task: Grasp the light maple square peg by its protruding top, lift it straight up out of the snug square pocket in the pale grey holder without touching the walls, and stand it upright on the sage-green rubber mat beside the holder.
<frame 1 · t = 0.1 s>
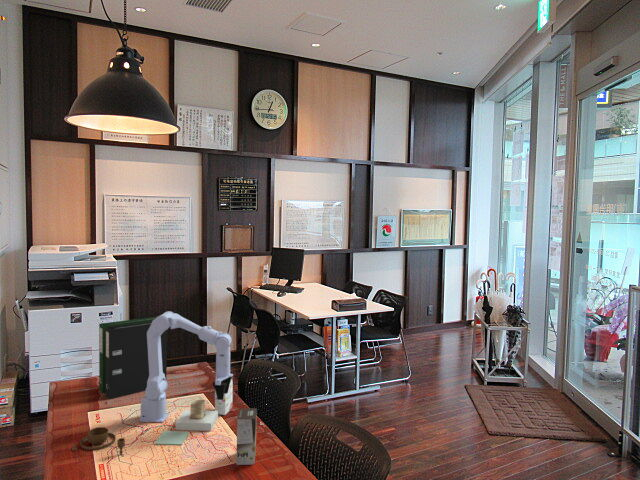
hand: (222, 396, 195), 10 cm above the table, tool pointing down, fingers open, 6 cm apart
binder: (133, 388, 228), on the table
maple peg: (197, 412, 192), in the pocket holder
rubber mat: (172, 438, 179), on the table
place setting: (99, 449, 171), on the table
coffee box: (246, 458, 166), on the table
ink cartridge box: (223, 411, 205), on the table, touching gripper
pocket holder: (197, 423, 192), on the table
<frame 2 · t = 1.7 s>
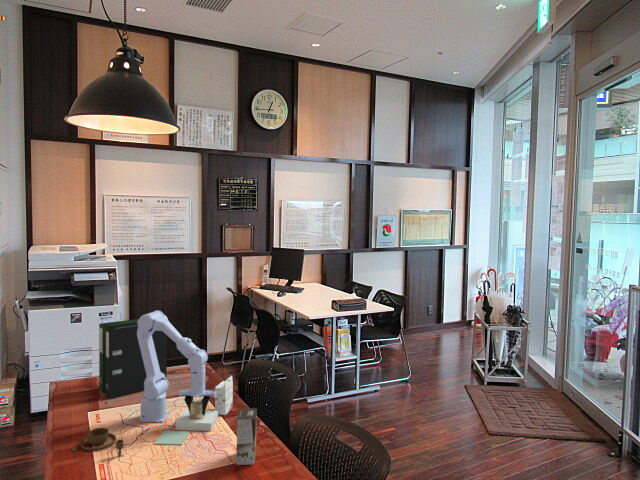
hand: (197, 413, 192), 4 cm above the table, tool pointing down, fingers closed on maple peg, 4 cm apart
maple peg: (197, 412, 192), in the pocket holder, touching gripper
ink cartridge box: (223, 411, 205), on the table
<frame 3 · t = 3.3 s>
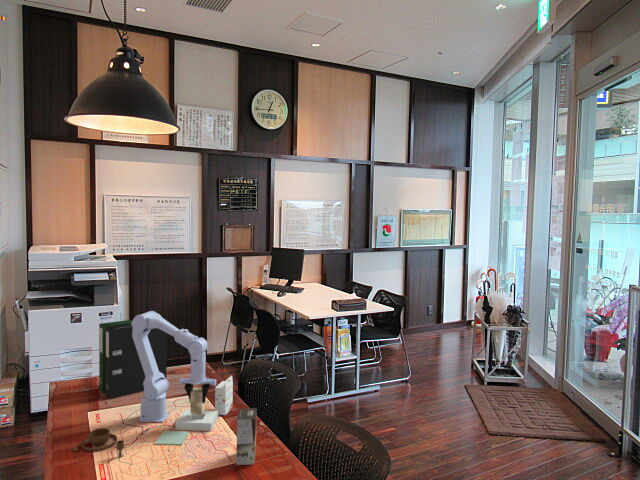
hand: (197, 402, 192), 9 cm above the table, tool pointing down, fingers closed on maple peg, 4 cm apart
maple peg: (197, 400, 192), point 9 cm above the table, touching gripper
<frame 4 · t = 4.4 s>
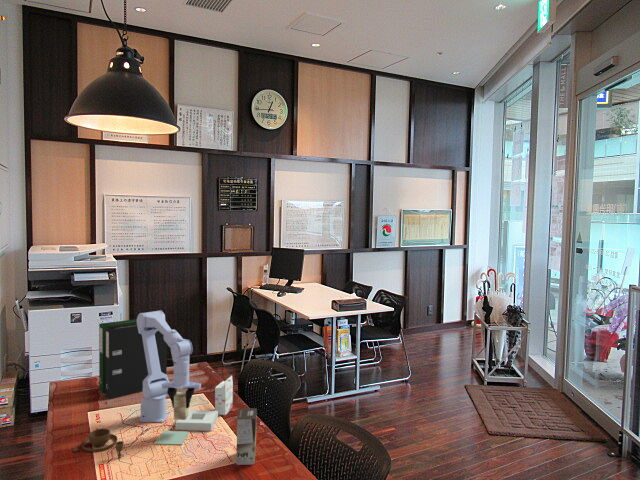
hand: (181, 407, 183), 10 cm above the table, tool pointing down, fingers closed on maple peg, 4 cm apart
maple peg: (181, 405, 183), point 11 cm above the table, touching gripper
when the fingers open (5 cm above the table, at t = 6.1 s): maple peg stays where it is, resting on rubber mat.
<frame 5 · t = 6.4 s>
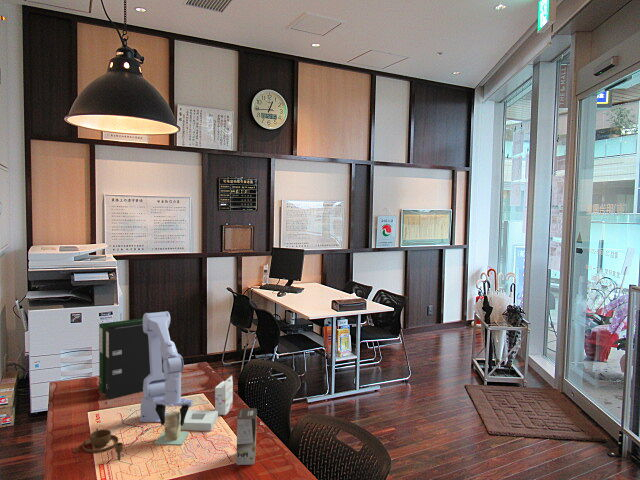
hand: (172, 424, 179), 5 cm above the table, tool pointing down, fingers open, 7 cm apart
maple peg: (172, 425, 179), on the rubber mat
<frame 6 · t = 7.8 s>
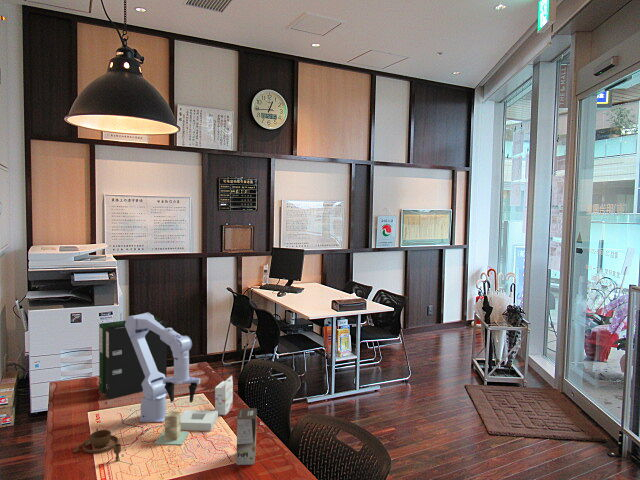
hand: (181, 401, 189), 10 cm above the table, tool pointing down, fingers open, 7 cm apart
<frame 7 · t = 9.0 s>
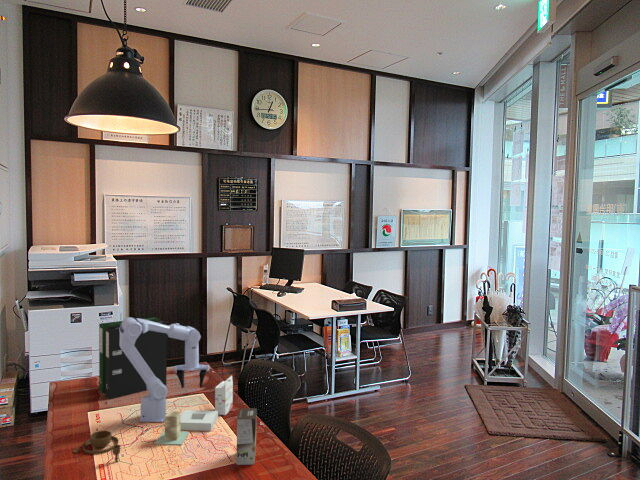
hand: (192, 387, 204), 10 cm above the table, tool pointing down, fingers open, 7 cm apart
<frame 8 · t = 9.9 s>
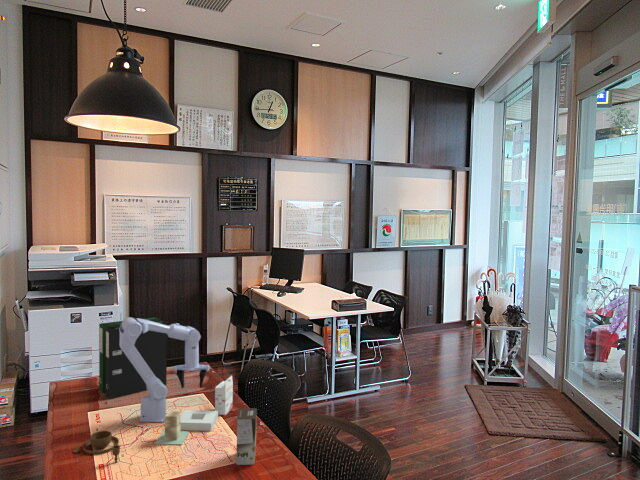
hand: (192, 387, 204), 10 cm above the table, tool pointing down, fingers open, 7 cm apart
at the end: maple peg inside the target area on the rubber mat (0.1 cm from its centre), point 4.9 cm above the rubber mat's base; maple peg tilted 0°; maple peg touching rubber mat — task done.
